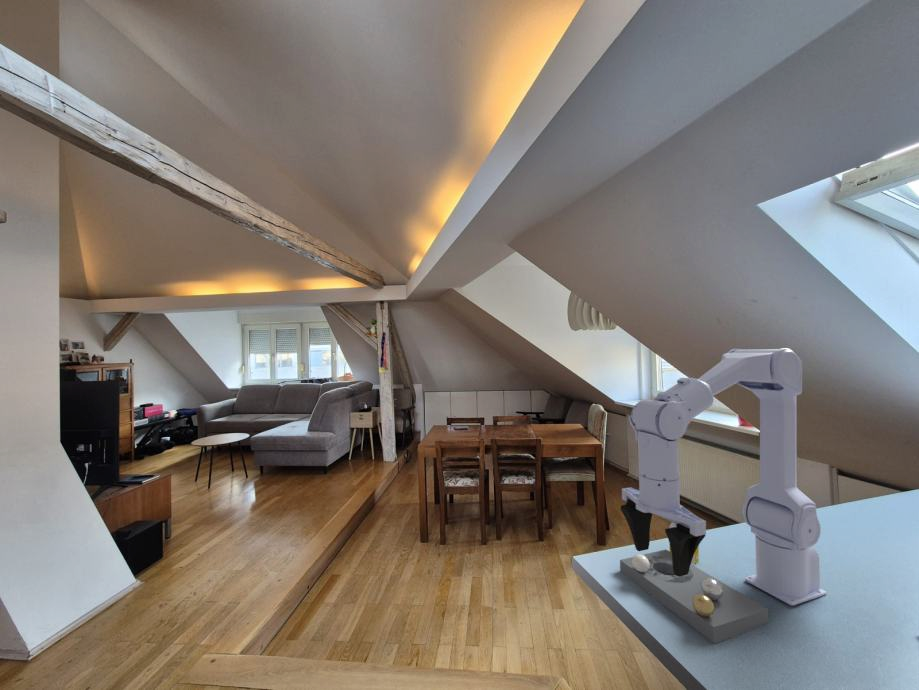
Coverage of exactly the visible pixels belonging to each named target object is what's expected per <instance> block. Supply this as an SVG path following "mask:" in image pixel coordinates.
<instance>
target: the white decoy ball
mask: <svg viewBox="0 0 919 690" xmlns="http://www.w3.org/2000/svg"><path fill="white" fill-rule="evenodd" d="M632 557H633V559H632V563H633V566H634V568H635V569H636V570H638V571H640V572H646V571H647V570H648V569H649V566H650V564H649V561H648V559H647V558H646V557H645V556H644V554H641V553H637V554H635V555H634V556H632Z"/></svg>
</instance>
